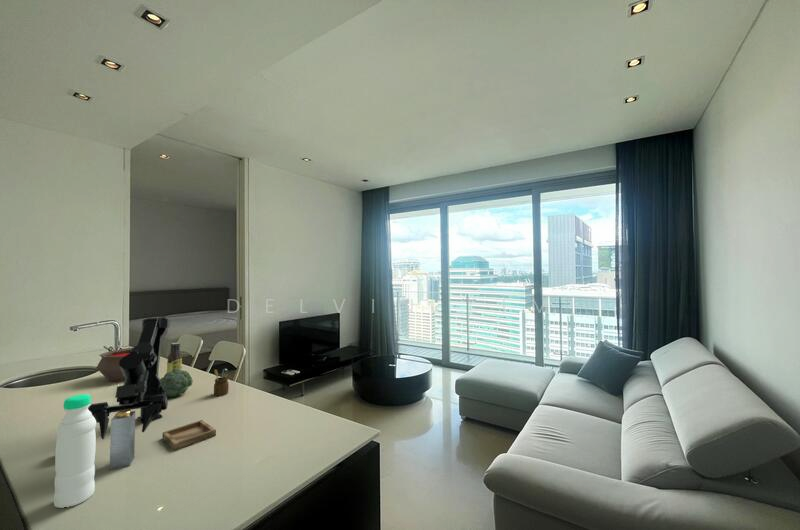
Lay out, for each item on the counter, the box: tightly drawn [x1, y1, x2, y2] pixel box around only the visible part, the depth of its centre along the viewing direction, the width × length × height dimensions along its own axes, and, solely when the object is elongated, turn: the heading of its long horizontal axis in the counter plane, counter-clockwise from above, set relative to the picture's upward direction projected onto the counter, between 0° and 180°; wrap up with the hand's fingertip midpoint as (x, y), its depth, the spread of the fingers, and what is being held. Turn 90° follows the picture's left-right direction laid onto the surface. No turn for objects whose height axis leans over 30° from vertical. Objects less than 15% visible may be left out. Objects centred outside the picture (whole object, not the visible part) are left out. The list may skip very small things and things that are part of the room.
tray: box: [162, 419, 217, 452], centre depth 109 cm, size 12×12×2 cm
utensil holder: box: [213, 368, 230, 397], centre depth 149 cm, size 6×6×12 cm
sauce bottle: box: [166, 342, 183, 373], centre depth 164 cm, size 7×6×20 cm
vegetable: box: [160, 369, 194, 399], centre depth 148 cm, size 12×13×15 cm
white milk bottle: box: [53, 393, 97, 509], centre depth 79 cm, size 7×7×25 cm
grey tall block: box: [109, 410, 136, 471], centre depth 94 cm, size 4×4×15 cm
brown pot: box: [95, 346, 133, 383], centre depth 172 cm, size 24×24×16 cm
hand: (123, 435), depth 94 cm, fingers open, 9 cm apart
